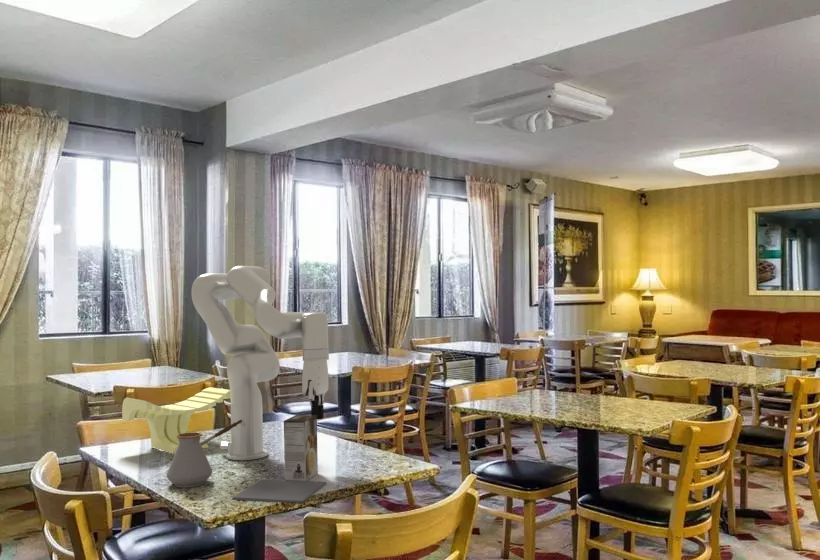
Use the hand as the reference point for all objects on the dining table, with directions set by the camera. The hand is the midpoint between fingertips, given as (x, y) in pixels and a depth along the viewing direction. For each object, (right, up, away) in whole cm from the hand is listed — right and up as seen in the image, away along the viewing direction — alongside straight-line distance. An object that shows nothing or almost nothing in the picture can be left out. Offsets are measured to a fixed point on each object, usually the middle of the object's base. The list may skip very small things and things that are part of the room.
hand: (317, 418), depth 198 cm
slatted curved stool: (-50, -16, +29) cm, 60 cm away
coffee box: (-3, -14, -12) cm, 18 cm away
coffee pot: (-28, -14, -13) cm, 34 cm away
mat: (-6, -13, -25) cm, 29 cm away
